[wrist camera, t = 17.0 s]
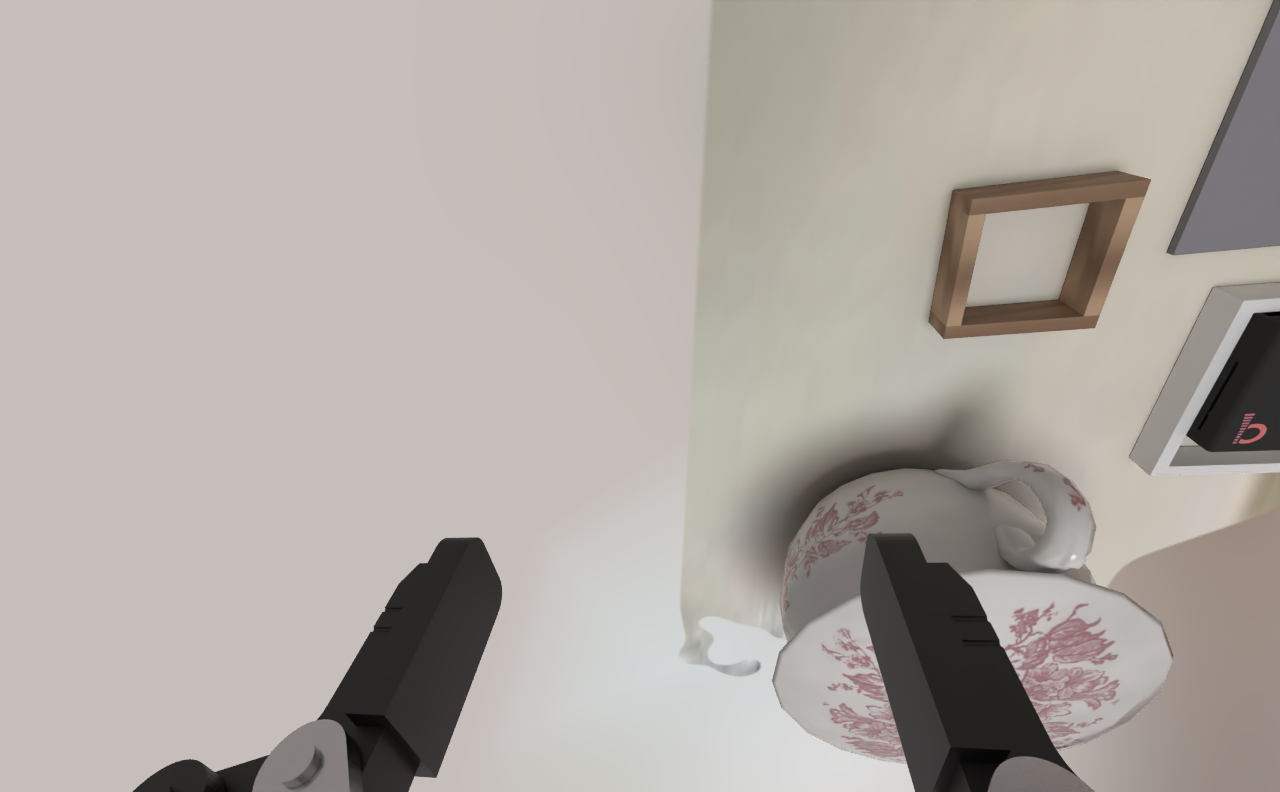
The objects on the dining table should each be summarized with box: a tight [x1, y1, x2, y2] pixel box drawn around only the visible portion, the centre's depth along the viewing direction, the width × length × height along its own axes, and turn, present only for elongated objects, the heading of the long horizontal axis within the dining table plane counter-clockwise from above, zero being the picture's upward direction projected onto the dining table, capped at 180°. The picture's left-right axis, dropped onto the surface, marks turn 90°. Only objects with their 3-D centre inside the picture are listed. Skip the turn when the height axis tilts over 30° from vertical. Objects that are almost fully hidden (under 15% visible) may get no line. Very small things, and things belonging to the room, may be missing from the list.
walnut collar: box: [929, 171, 1151, 339], centre depth 35 cm, size 10×10×3 cm
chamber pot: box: [772, 460, 1173, 764], centre depth 44 cm, size 28×28×21 cm
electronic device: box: [1186, 311, 1280, 452], centre depth 37 cm, size 7×11×5 cm
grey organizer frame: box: [1130, 282, 1280, 476], centre depth 39 cm, size 16×12×2 cm
